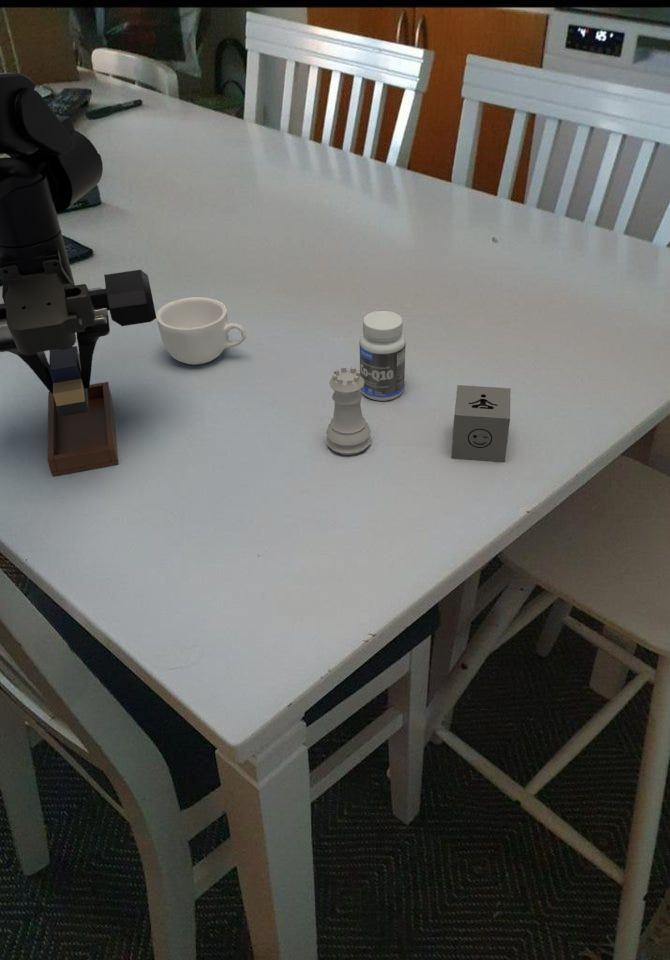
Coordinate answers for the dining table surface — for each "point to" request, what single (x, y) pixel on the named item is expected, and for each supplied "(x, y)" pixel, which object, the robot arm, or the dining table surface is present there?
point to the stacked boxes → (68, 382)
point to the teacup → (196, 329)
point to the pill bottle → (382, 356)
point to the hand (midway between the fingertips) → (70, 389)
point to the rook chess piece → (347, 414)
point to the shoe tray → (83, 434)
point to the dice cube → (481, 423)
